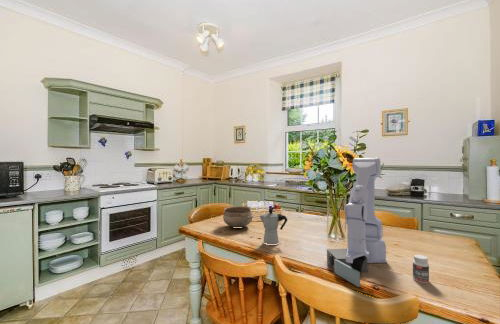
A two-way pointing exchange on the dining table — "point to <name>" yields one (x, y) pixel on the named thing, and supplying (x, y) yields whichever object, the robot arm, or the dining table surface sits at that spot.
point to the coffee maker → (272, 226)
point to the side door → (347, 272)
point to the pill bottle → (420, 269)
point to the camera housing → (341, 258)
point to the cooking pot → (237, 216)
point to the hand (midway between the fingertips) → (356, 276)
